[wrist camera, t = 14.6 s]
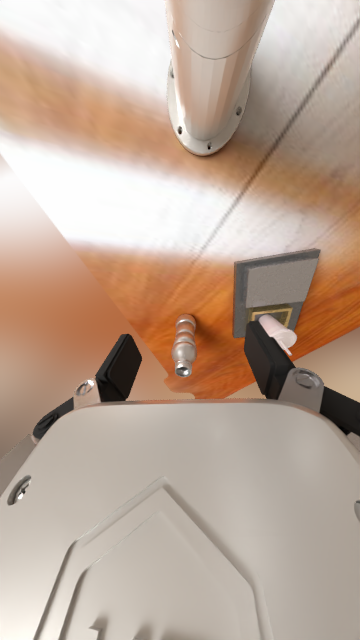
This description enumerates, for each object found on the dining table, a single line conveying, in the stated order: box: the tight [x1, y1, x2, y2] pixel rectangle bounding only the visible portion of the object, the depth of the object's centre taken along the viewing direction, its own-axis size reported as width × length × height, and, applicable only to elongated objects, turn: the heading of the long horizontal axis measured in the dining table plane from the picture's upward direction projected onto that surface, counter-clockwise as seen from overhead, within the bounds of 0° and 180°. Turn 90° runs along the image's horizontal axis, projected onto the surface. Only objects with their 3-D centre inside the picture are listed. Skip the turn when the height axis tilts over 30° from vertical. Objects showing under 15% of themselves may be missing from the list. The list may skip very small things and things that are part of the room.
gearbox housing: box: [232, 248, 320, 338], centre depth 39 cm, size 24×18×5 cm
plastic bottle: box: [172, 314, 197, 377], centre depth 39 cm, size 6×7×20 cm
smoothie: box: [259, 314, 297, 356], centre depth 37 cm, size 6×6×14 cm
